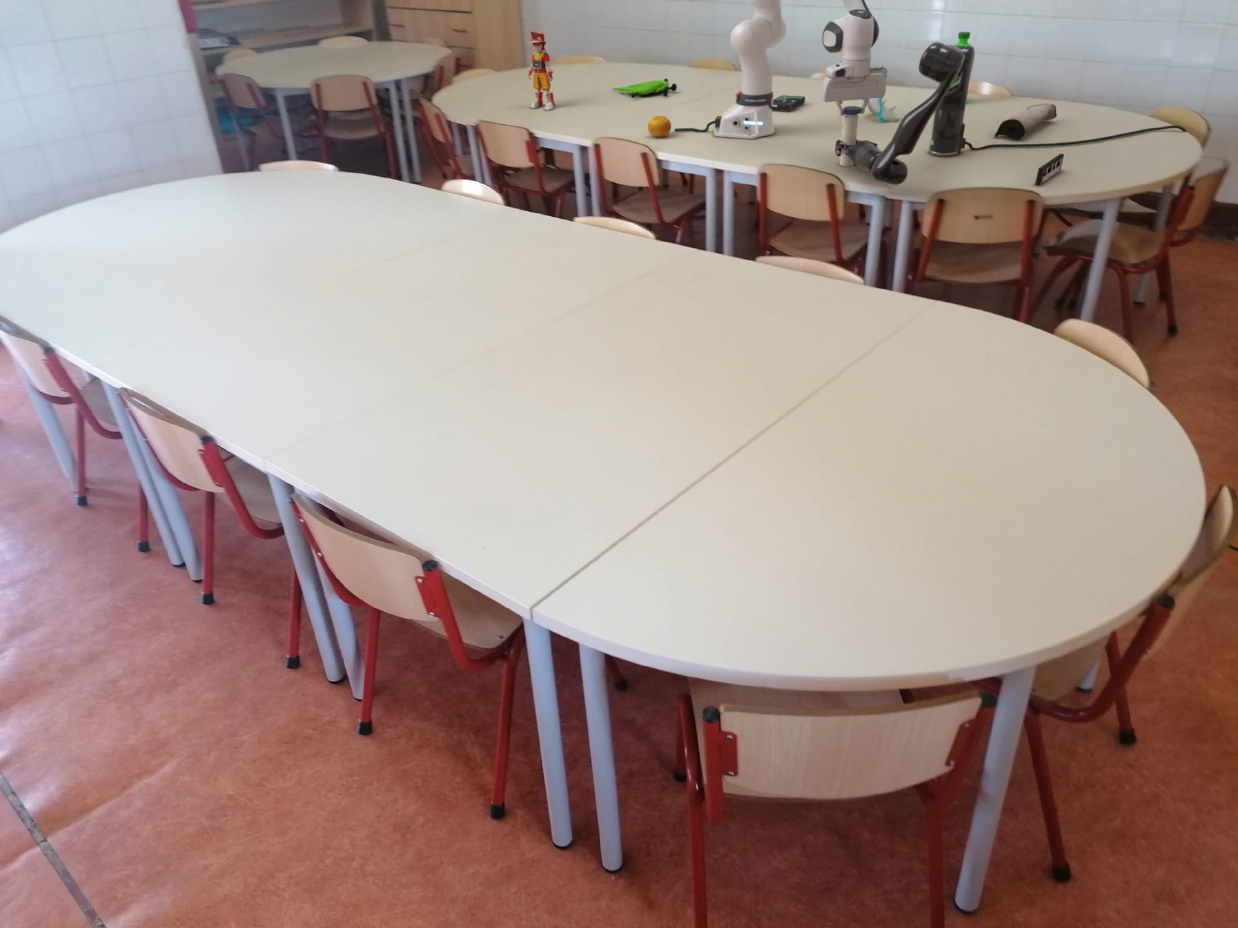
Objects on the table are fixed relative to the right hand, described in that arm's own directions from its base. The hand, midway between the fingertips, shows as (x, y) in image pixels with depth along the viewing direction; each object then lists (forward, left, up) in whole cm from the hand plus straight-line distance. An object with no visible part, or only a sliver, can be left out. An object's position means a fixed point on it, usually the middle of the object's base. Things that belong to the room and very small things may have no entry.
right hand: (845, 142), depth 295 cm
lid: (0, +3, +11) cm, 11 cm away
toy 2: (+42, -127, -6) cm, 134 cm away
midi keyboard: (-51, +38, -6) cm, 63 cm away
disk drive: (-8, -77, -6) cm, 78 cm away
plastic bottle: (-70, -58, -6) cm, 91 cm away
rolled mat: (-74, -12, -6) cm, 75 cm away
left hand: (0, +3, +10) cm, 10 cm away
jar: (0, +3, -6) cm, 7 cm away
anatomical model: (-35, -47, -6) cm, 59 cm away
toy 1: (+87, -117, -6) cm, 146 cm away
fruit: (+50, -54, -6) cm, 74 cm away
